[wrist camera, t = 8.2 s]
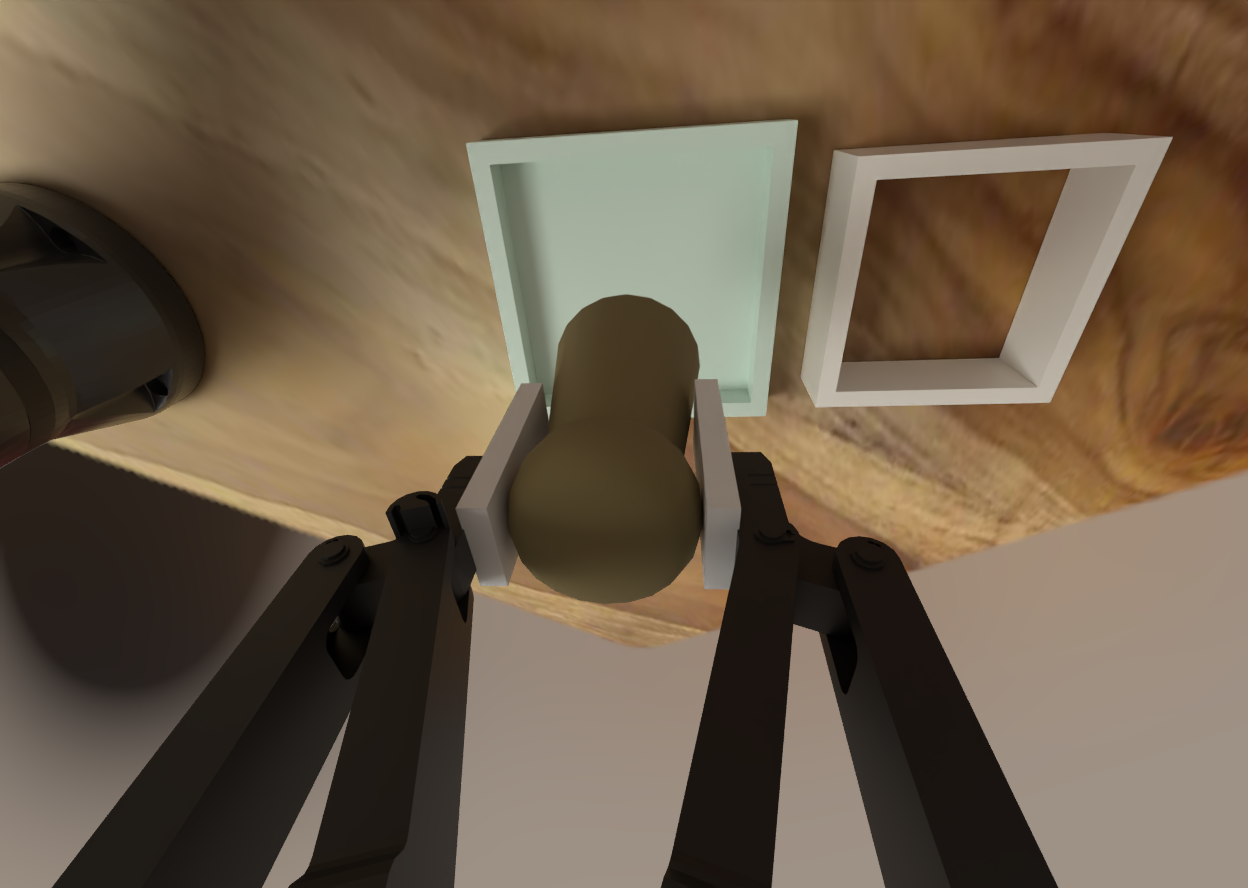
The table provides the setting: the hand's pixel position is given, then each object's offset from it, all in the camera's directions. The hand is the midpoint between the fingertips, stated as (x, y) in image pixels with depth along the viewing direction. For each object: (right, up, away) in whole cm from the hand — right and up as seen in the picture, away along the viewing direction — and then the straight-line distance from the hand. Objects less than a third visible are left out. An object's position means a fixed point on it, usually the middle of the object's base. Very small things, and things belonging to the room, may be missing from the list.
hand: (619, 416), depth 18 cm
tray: (+1, +9, +13) cm, 16 cm away
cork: (0, +2, +4) cm, 4 cm away
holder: (+18, +9, +11) cm, 23 cm away
